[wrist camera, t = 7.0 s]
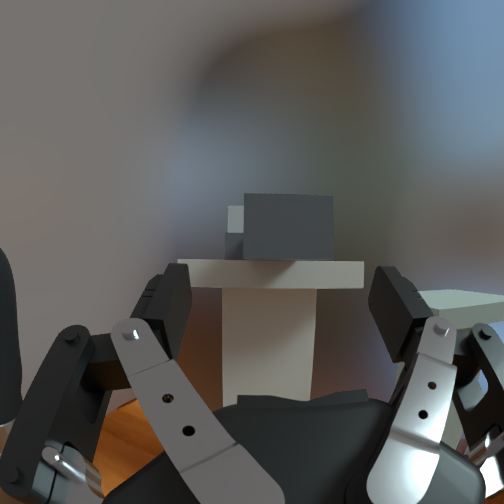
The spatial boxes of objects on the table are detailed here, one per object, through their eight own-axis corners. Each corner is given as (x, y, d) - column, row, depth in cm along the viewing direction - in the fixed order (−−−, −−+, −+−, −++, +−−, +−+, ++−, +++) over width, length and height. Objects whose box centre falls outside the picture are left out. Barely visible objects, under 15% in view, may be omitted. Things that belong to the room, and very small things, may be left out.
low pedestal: (467, 490, 19) (526, 297, 20) (375, 526, 19) (435, 310, 20) (424, 446, 34) (454, 289, 35) (346, 464, 34) (370, 293, 35)
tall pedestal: (325, 532, 20) (369, 261, 21) (195, 533, 20) (171, 258, 21) (307, 466, 35) (324, 262, 36) (211, 466, 35) (205, 260, 36)
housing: (384, 260, 11) (377, 144, 11) (184, 257, 11) (191, 136, 11) (299, 261, 34) (300, 219, 34) (231, 260, 34) (232, 218, 34)
